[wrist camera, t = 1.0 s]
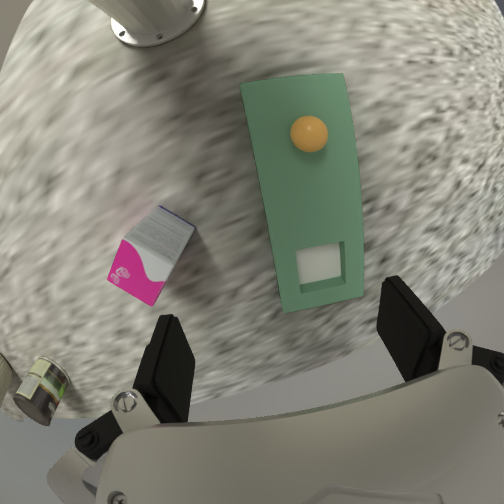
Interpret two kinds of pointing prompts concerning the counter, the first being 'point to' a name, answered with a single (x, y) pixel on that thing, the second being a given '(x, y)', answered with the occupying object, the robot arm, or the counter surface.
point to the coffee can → (42, 390)
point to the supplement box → (150, 254)
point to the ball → (309, 134)
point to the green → (308, 188)
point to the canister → (4, 378)
